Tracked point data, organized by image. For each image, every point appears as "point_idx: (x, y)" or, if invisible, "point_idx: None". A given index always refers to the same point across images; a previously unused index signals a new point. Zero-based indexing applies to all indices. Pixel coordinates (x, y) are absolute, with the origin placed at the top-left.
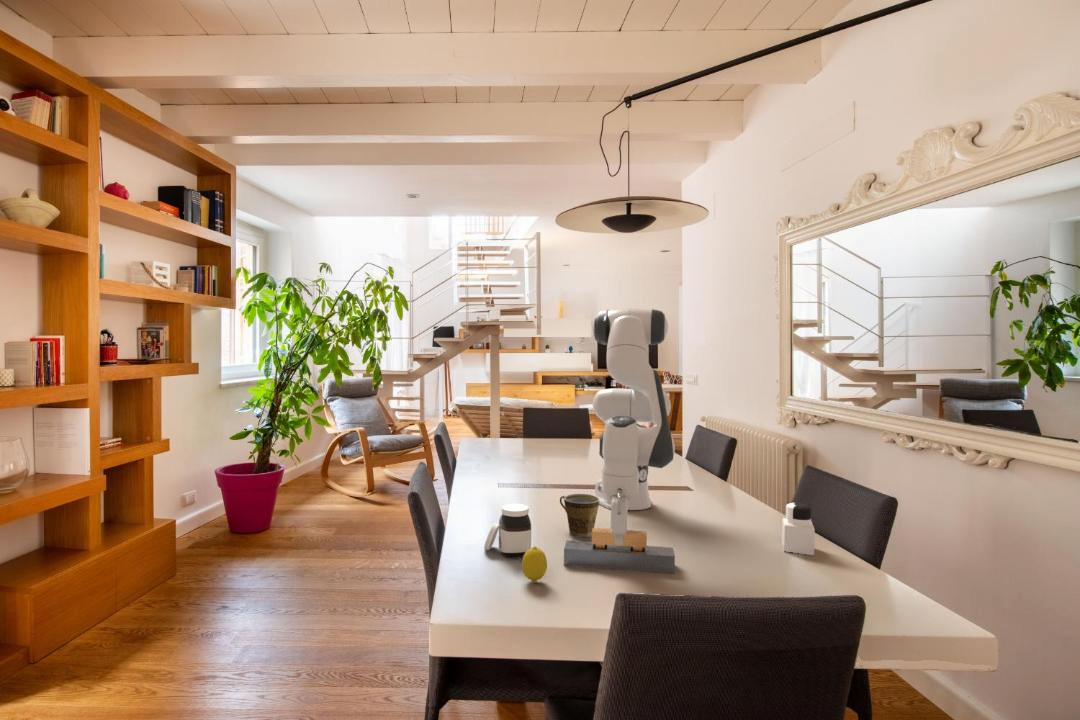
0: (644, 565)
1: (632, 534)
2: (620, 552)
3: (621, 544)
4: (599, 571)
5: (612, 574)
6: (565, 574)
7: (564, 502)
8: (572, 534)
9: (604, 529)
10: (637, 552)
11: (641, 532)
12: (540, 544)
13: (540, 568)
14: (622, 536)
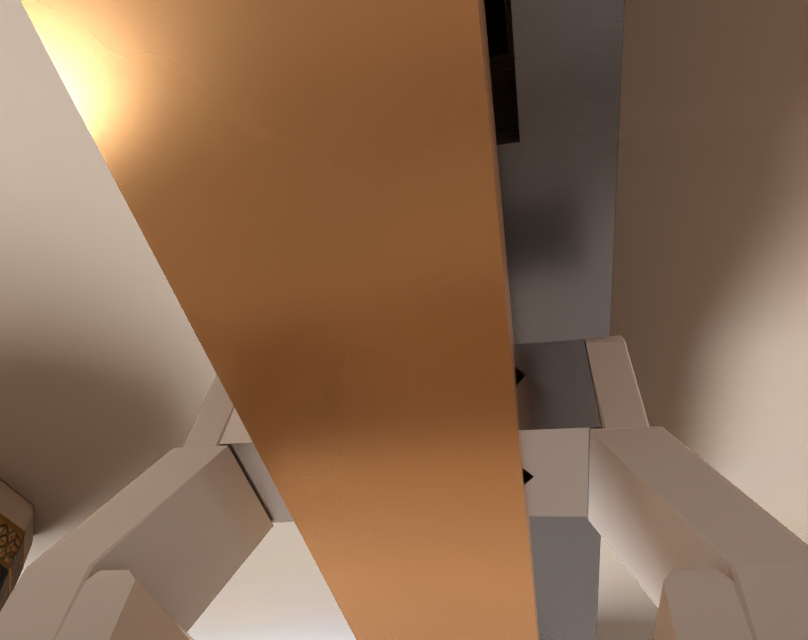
0: None
1: (506, 302)
2: (607, 273)
3: (625, 346)
4: (664, 325)
5: (735, 214)
6: (752, 498)
7: None
8: (31, 536)
9: None
10: (546, 9)
11: (229, 75)
12: (288, 615)
13: None
14: (697, 462)
